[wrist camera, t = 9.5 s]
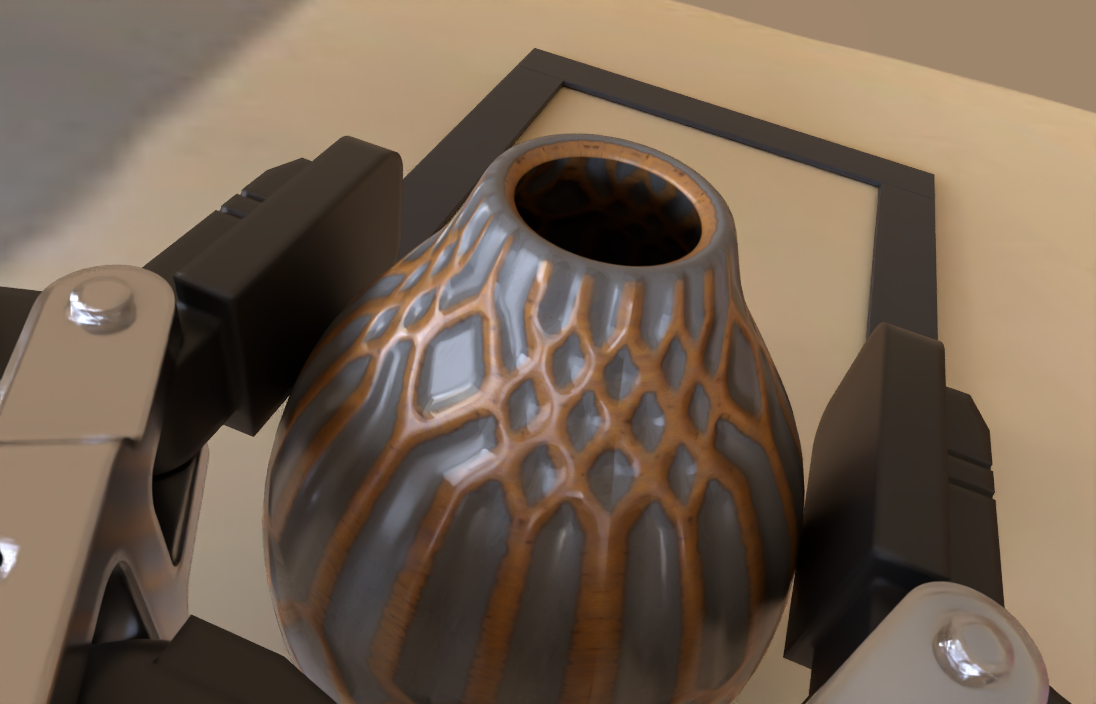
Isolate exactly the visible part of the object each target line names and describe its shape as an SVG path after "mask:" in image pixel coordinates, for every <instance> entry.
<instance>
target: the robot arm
mask: <svg viewBox="0 0 1096 704" xmlns="http://www.w3.org/2000/svg"><path fill="white" fill-rule="evenodd" d="M402 182H403V164H402V159H401V156H400V155H399V154H398V153H397V152H394V151H391V150H389V149H386V148H383V147H380V146H377V145H374V144H371V143H368V142H365V141H362V140H360V139H357V138H354V137H351V136H344V137H342V138H340V139H339V140H337V141H336V142H335V143H334V144H333V145H331V146H330V147H329V148H328V149H327V150H325V151H324V152H323V153H322V154H320V155H319V156H318V157H317V158H316V159H314V160H313V161H310V160H307V159H304V158H300V159H297V160H294V161H292V162H289V163H286V164H283V165H280V166H278V167H275V168H272V169H269V170H267V171H265V172H264V173H263V174H261V175H260V176H259V177H258V178H256V179H255V180H254V181H253V182H251V183H250V184H249V185H247V186H246V187H245V188H244V189H242V192H241V194H240V195H239V194H236V195H235V196H233V197H232V198H231V199H229V200H228V201H227V202H226V203H224V204H223V205H222V206H221V210H220V211H217V210H215V211H214V212H213V213H211V214H210V215H209V216H208V217H206V218H205V219H204V220H203V221H201V222H200V223H199V224H197V225H196V226H195V227H194V228H192V229H191V230H190V231H188V232H187V233H186V234H185V235H183V236H182V237H181V238H179V239H178V240H177V241H176V242H174V243H173V244H172V245H170V246H169V247H168V248H167V249H165V250H164V251H163V252H161V253H160V254H159V255H158V256H156V257H155V258H154V259H153V260H151V261H150V262H149V263H147V264H146V265H145V266H144V267H142V268H140V267H135V266H129V265H104V266H96V267H91V268H86V269H82V270H79V271H76V272H73V273H71V274H69V275H66V276H64V277H62V278H60V279H58V280H57V281H55V282H54V283H52V284H51V285H49V286H48V287H47V288H46V289H44V290H43V291H35V290H26V289H17V288H8V287H0V704H338V703H336V702H335V701H334V700H333V699H332V698H331V697H330V696H328V695H327V694H326V693H325V692H324V691H323V690H322V689H320V688H319V687H318V686H317V685H316V684H315V683H314V682H312V681H311V680H310V679H309V678H308V677H307V676H306V675H305V674H303V673H302V672H301V671H300V670H299V669H298V668H297V667H295V666H294V665H293V664H292V663H291V662H290V661H289V660H287V659H286V658H285V657H284V656H282V655H279V654H277V653H275V652H273V651H271V650H268V649H266V648H264V647H262V646H260V645H257V644H255V643H253V642H251V641H249V640H246V639H244V638H242V637H240V636H237V635H235V634H233V633H231V632H229V631H226V630H224V629H222V628H220V627H218V626H215V625H213V624H211V623H209V622H207V621H204V620H202V619H200V618H198V617H196V616H193V615H190V617H189V610H188V584H189V575H190V569H191V563H192V557H193V551H194V545H195V539H196V533H197V527H198V521H199V515H200V509H201V503H202V497H203V491H204V485H205V479H206V473H207V467H208V461H209V448H208V443H207V442H208V440H209V439H210V438H211V437H212V436H213V435H214V434H215V433H216V432H217V431H218V430H219V428H220V427H221V426H222V425H226V426H228V427H231V428H233V429H236V430H238V431H240V432H243V433H245V434H248V435H250V436H253V437H254V436H255V435H256V434H257V432H258V431H259V430H260V429H261V428H262V427H263V425H264V424H265V423H266V422H267V421H268V420H269V419H270V417H271V416H272V415H273V414H274V413H275V412H276V410H277V409H278V408H279V407H280V406H281V405H282V403H283V402H284V401H285V400H286V399H287V398H288V396H289V395H290V393H291V391H292V389H293V387H294V385H295V383H296V380H297V378H298V376H299V374H300V372H301V370H302V368H303V366H304V364H305V362H306V360H307V358H308V357H309V355H310V354H311V352H312V350H313V349H314V347H315V346H316V344H317V343H318V341H319V339H320V338H321V336H322V335H323V333H324V332H325V330H326V329H327V328H328V326H329V325H330V324H331V323H332V321H333V320H334V319H335V318H336V317H337V316H338V315H339V313H340V312H341V311H342V310H343V309H344V308H345V307H346V306H347V305H348V304H349V302H350V301H351V300H352V299H353V298H354V297H355V296H356V295H357V294H358V293H359V292H360V291H362V290H363V289H364V288H365V287H366V286H367V285H368V284H370V283H371V282H372V281H373V280H374V279H375V278H377V277H378V276H379V275H380V274H382V273H383V272H384V271H386V270H387V269H388V268H389V267H391V266H392V265H393V264H395V263H396V261H397V258H398V254H399V249H400V237H401V209H402ZM991 466H992V453H991V441H990V430H989V429H988V427H987V425H986V423H985V421H984V419H983V418H982V416H981V414H980V412H979V410H978V409H977V407H976V405H975V403H974V401H973V399H972V398H971V396H970V395H969V394H966V393H963V392H960V391H958V390H955V389H952V388H949V387H946V379H945V349H944V345H943V343H942V342H941V341H938V340H935V339H932V338H929V337H926V336H923V335H920V334H917V333H914V332H912V331H909V330H906V329H903V328H900V327H897V326H894V325H891V324H888V323H886V322H881V323H880V324H878V325H877V326H876V328H875V329H874V330H873V331H872V333H871V335H870V336H869V338H868V339H867V341H866V343H865V344H864V346H863V347H862V349H861V351H860V352H859V354H858V356H857V357H856V359H855V360H854V362H853V364H852V365H851V367H850V369H849V370H848V372H847V373H846V375H845V377H844V378H843V380H842V381H841V383H840V385H839V386H838V388H837V390H836V391H835V393H834V394H833V396H832V398H831V399H830V401H829V403H828V405H827V407H826V409H825V411H824V413H823V415H822V418H821V420H820V423H819V426H818V429H817V432H816V435H815V439H814V444H813V450H812V457H811V464H810V471H809V478H808V485H807V492H806V499H805V507H804V514H803V528H802V535H801V541H800V548H799V554H798V560H797V565H796V570H795V577H794V584H793V591H792V598H791V605H790V612H789V620H788V627H787V634H786V641H785V648H784V655H783V658H786V659H788V660H790V661H793V662H795V663H798V664H800V665H803V666H805V667H807V668H810V669H812V671H811V679H810V688H809V696H808V697H807V698H806V699H805V700H804V701H803V702H802V703H801V704H1071V703H1070V702H1069V701H1067V700H1066V699H1065V698H1063V697H1062V696H1061V695H1060V694H1058V693H1057V692H1056V691H1055V690H1054V689H1053V688H1052V687H1051V686H1050V685H1049V678H1048V674H1047V670H1046V666H1045V663H1044V661H1043V658H1042V656H1041V653H1040V652H1039V650H1038V648H1037V646H1036V644H1035V642H1034V641H1033V640H1032V638H1031V637H1030V635H1029V634H1028V632H1027V631H1026V630H1025V629H1024V627H1023V626H1022V625H1021V624H1020V623H1019V622H1018V621H1017V620H1016V618H1014V617H1013V616H1012V615H1011V614H1010V613H1009V612H1008V611H1007V610H1006V609H1005V606H1004V596H1003V584H1002V572H1001V560H1000V548H999V536H998V524H997V513H996V501H995V500H994V499H992V498H993V495H994V493H995V489H994V477H993V471H991V470H990V468H991Z"/></svg>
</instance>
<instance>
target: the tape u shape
mask: <svg viewBox="0 0 1096 704" xmlns="http://www.w3.org/2000/svg"><path fill="white" fill-rule="evenodd" d="M563 85H564V86H567V87H570V88H573V89H576V90H579V91H582V92H585V93H589V94H592V95H595V96H598V97H601V98H604V99H607V100H610V101H613V102H616V103H620V104H623V105H626V106H629V107H632V108H635V109H638V110H641V111H644V112H648V113H651V114H654V115H657V116H660V117H663V118H666V119H669V120H672V121H675V122H679V123H682V124H685V125H688V126H691V127H694V128H697V129H700V130H703V131H706V132H710V133H713V134H716V135H719V136H722V137H725V138H728V139H731V140H734V141H738V142H741V143H744V144H747V145H750V146H753V147H756V148H759V149H762V150H765V151H769V152H772V153H775V154H778V155H781V156H784V157H787V158H790V159H793V160H797V161H800V162H803V163H806V164H809V165H812V166H815V167H818V168H821V169H824V170H828V171H831V172H834V173H837V174H840V175H843V176H846V177H849V178H852V179H855V180H859V181H862V182H865V183H868V184H871V185H874V186H877V187H879V194H878V206H877V218H876V229H875V241H874V253H873V265H872V277H871V289H870V301H869V312H868V324H867V336H866V341H867V339H868V338H869V336H870V335H871V333H872V331H873V330H874V329H875V328H876V326H877V325H878V324H880V323H881V322H886V323H888V324H891V325H894V326H897V327H900V328H903V329H906V330H909V331H912V332H914V333H917V334H920V335H923V336H926V337H929V338H932V339H935V340H938V332H937V283H936V235H935V187H934V174H931V173H928V172H925V171H921V170H918V169H915V168H912V167H909V166H906V165H902V164H899V163H896V162H893V161H890V160H887V159H884V158H880V157H877V156H874V155H871V154H868V153H865V152H861V151H858V150H855V149H852V148H849V147H846V146H843V145H839V144H836V143H833V142H830V141H827V140H824V139H820V138H817V137H814V136H811V135H808V134H805V133H801V132H798V131H795V130H792V129H789V128H786V127H783V126H779V125H776V124H773V123H770V122H767V121H764V120H760V119H757V118H754V117H751V116H748V115H745V114H742V113H738V112H735V111H732V110H729V109H726V108H723V107H719V106H716V105H713V104H710V103H707V102H704V101H700V100H697V99H694V98H691V97H688V96H685V95H682V94H678V93H675V92H672V91H669V90H666V89H663V88H659V87H656V86H653V85H650V84H647V83H644V82H641V81H637V80H634V79H631V78H628V77H625V76H622V75H618V74H615V73H612V72H609V71H606V70H603V69H600V68H596V67H593V66H590V65H587V64H584V63H581V62H577V61H574V60H571V59H568V58H565V57H562V56H558V55H555V54H552V53H549V52H546V51H543V50H540V49H536V48H534V49H533V50H532V51H531V52H530V53H529V54H528V55H527V56H526V57H525V58H524V59H523V60H522V61H521V62H520V63H519V64H518V65H517V66H516V67H515V68H514V69H513V70H512V71H511V72H510V73H509V74H508V75H507V76H506V77H505V78H504V79H503V80H502V81H501V82H500V83H499V84H498V85H497V86H496V87H495V88H494V89H493V90H492V91H491V92H490V93H489V94H488V95H487V96H486V97H485V98H484V99H483V100H482V101H481V102H480V103H479V104H478V105H477V106H476V107H475V108H474V109H473V110H472V111H471V112H470V113H469V114H468V115H467V116H466V117H465V118H464V119H463V120H462V121H461V122H460V123H459V124H458V125H457V126H456V127H455V128H454V129H453V130H452V131H451V132H450V133H449V134H448V135H447V136H446V137H445V138H444V139H443V140H442V141H441V142H440V143H439V144H438V145H437V146H436V147H435V148H434V149H433V150H432V151H431V152H430V153H429V154H428V155H427V156H426V157H425V158H424V159H423V160H422V161H421V162H420V163H419V164H418V165H417V166H416V167H415V168H414V169H413V170H412V171H411V172H410V173H409V174H408V175H407V176H406V177H405V178H404V179H403V182H402V209H401V237H400V249H399V254H398V258H397V261H399V260H400V259H401V258H402V257H404V256H405V255H406V254H408V253H409V252H410V251H412V250H413V249H414V248H416V247H417V246H418V245H420V244H421V243H423V242H424V241H425V240H427V239H428V238H430V237H431V236H433V235H434V234H435V233H437V232H438V231H440V230H441V229H442V227H443V226H444V225H445V224H446V223H447V221H448V220H449V219H450V218H451V217H452V216H453V214H454V213H455V212H456V211H457V210H458V208H459V207H460V206H461V205H462V204H463V203H464V201H465V200H466V199H467V198H468V197H469V195H470V194H471V192H472V191H473V189H474V188H475V186H476V184H477V183H478V181H479V180H480V178H481V177H482V175H483V174H484V173H485V171H486V170H487V168H488V167H489V166H490V165H491V164H492V162H493V161H494V160H495V159H496V158H497V157H499V156H500V155H501V154H502V153H504V152H505V151H506V150H508V149H509V148H510V147H511V146H512V145H513V144H514V142H515V141H516V140H517V139H518V138H519V136H520V135H521V134H522V133H523V132H524V131H525V129H526V128H527V127H528V126H529V125H530V123H531V122H532V121H533V120H534V119H535V118H536V116H537V115H538V114H539V113H540V112H541V110H542V109H543V108H544V107H545V106H546V105H547V103H548V102H549V101H550V100H551V99H552V97H553V96H554V95H555V94H556V93H557V92H558V90H559V89H560V88H561V87H562V86H563ZM397 261H396V262H397Z"/></svg>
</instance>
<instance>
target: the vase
mask: <svg viewBox="0 0 1096 704" xmlns="http://www.w3.org/2000/svg"><path fill="white" fill-rule="evenodd" d="M804 492H805V491H804V472H803V458H802V451H801V444H800V439H799V435H798V431H797V427H796V423H795V419H794V415H793V411H792V408H791V405H790V402H789V399H788V396H787V393H786V391H785V388H784V386H783V383H782V381H781V378H780V376H779V374H778V371H777V369H776V367H775V365H774V362H773V360H772V358H771V356H770V353H769V351H768V349H767V347H766V345H765V342H764V340H763V338H762V336H761V334H760V332H759V329H758V327H757V325H756V323H755V321H754V319H753V317H752V315H751V313H750V311H749V309H748V307H747V305H746V302H745V300H744V295H743V291H742V286H741V280H740V269H739V256H738V243H737V234H736V228H735V223H734V219H733V216H732V214H731V211H730V209H729V207H728V205H727V204H726V202H725V200H724V199H723V197H722V196H721V195H720V194H719V192H718V191H717V190H716V189H715V188H714V187H713V186H712V185H711V184H710V183H709V182H708V181H707V180H706V179H705V178H703V177H702V176H701V175H700V174H698V173H697V172H696V171H694V170H693V169H692V168H690V167H689V166H687V165H685V164H684V163H682V162H680V161H679V160H677V159H675V158H673V157H671V156H669V155H667V154H665V153H663V152H660V151H658V150H656V149H653V148H650V147H648V146H645V145H642V144H639V143H635V142H632V141H628V140H624V139H620V138H615V137H609V136H603V135H594V134H558V135H550V136H544V137H539V138H535V139H531V140H528V141H525V142H522V143H520V144H517V145H515V146H513V147H511V148H510V149H508V150H506V151H505V152H504V153H502V154H501V155H500V156H499V157H497V158H496V159H495V160H494V161H493V162H492V164H491V165H490V166H489V167H488V168H487V170H486V171H485V173H484V174H483V175H482V177H481V178H480V180H479V181H478V183H477V184H476V186H475V188H474V189H473V191H472V192H471V194H470V195H469V197H468V198H467V200H466V201H465V203H464V204H463V206H462V207H461V209H460V210H459V212H458V213H457V214H456V215H455V216H454V217H453V219H452V220H451V221H450V222H449V223H448V224H447V225H446V226H445V227H444V228H442V229H441V230H440V231H438V232H437V233H435V234H434V235H433V236H431V237H430V238H428V239H427V240H425V241H424V242H423V243H421V244H420V245H418V246H417V247H416V248H414V249H413V250H412V251H410V252H409V253H408V254H406V255H405V256H404V257H402V258H401V259H400V260H399V261H397V262H396V263H395V264H393V265H392V266H391V267H389V268H388V269H387V270H386V271H384V272H383V273H382V274H380V275H379V276H378V277H377V278H375V279H374V280H373V281H372V282H371V283H370V284H368V285H367V286H366V287H365V288H364V289H363V290H362V291H360V292H359V293H358V294H357V295H356V296H355V297H354V298H353V299H352V300H351V301H350V302H349V304H348V305H347V306H346V307H345V308H344V309H343V310H342V311H341V312H340V313H339V315H338V316H337V317H336V318H335V319H334V320H333V321H332V323H331V324H330V325H329V326H328V328H327V329H326V330H325V332H324V333H323V335H322V336H321V338H320V339H319V341H318V343H317V344H316V346H315V347H314V349H313V350H312V352H311V354H310V355H309V357H308V358H307V360H306V362H305V364H304V366H303V368H302V370H301V372H300V374H299V376H298V378H297V380H296V383H295V385H294V387H293V389H292V391H291V393H290V396H289V399H288V401H287V404H286V407H285V409H284V412H283V415H282V418H281V420H280V423H279V426H278V429H277V433H276V437H275V440H274V444H273V448H272V452H271V456H270V460H269V464H268V470H267V476H266V483H265V492H264V501H263V517H262V526H263V545H264V557H265V565H266V573H267V580H268V584H269V589H270V593H271V597H272V602H273V606H274V610H275V614H276V618H277V621H278V624H279V627H280V630H281V633H282V636H283V639H284V642H285V644H286V647H287V649H288V652H289V654H290V656H291V659H292V661H293V663H294V666H295V667H297V668H298V669H299V670H300V671H301V672H302V673H303V674H305V675H306V676H307V677H308V678H309V679H310V680H311V681H312V682H314V683H315V684H316V685H317V686H318V687H319V688H320V689H322V690H323V691H324V692H325V693H326V694H327V695H328V696H330V697H331V698H332V699H333V700H334V701H335V702H336V703H338V704H732V702H733V701H734V700H735V699H736V697H737V696H738V695H739V693H740V692H741V691H742V689H743V688H744V686H745V685H746V683H747V682H748V681H749V679H750V678H751V676H752V675H753V673H754V672H755V670H756V669H757V667H758V665H759V664H760V662H761V660H762V659H763V657H764V655H765V653H766V651H767V649H768V647H769V645H770V643H771V641H772V639H773V637H774V634H775V632H776V630H777V627H778V625H779V623H780V620H781V618H782V615H783V612H784V609H785V607H786V604H787V601H788V597H789V593H790V589H791V586H792V582H793V578H794V574H795V570H796V565H797V560H798V554H799V548H800V541H801V535H802V528H803V512H804Z"/></svg>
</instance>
